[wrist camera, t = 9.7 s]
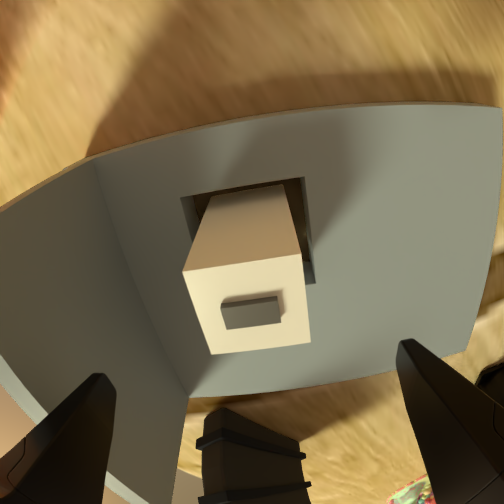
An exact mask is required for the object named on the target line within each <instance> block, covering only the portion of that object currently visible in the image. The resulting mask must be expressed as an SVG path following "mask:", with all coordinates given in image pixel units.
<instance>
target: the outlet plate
mask: <svg viewBox="0 0 504 504" xmlns="http://www.w3.org/2000/svg"><path fill="white" fill-rule="evenodd" d="M502 155H503V116H502V108H499V107H494V106H489V105H484V104H479V103H464V102H431V101H411V102H377V103H359V104H345V105H333V106H323V107H313V108H304V109H296V110H288V111H281V112H274V113H268V114H261V115H255V116H249V117H243V118H238V119H232V120H227V121H222V122H217V123H212V124H207V125H203V126H198V127H193V128H189V129H185V130H181V131H176V132H172V133H168V134H164V135H160V136H156V137H153V138H149V139H145V140H142V141H138V142H135V143H131V144H128V145H124V146H121V147H118V148H114V149H111V150H108V151H105V152H102V153H99V154H95V155H92V156H89V157H86V158H84V159H82V160H80V161H78V162H76V163H74V164H72V165H70V166H68V167H66V168H64V169H63V170H62V171H61V172H59V173H57V174H55V175H53V176H51V177H50V178H48V179H46V180H44V181H42V182H41V183H39V184H37V185H35V186H34V187H32V188H30V189H29V190H27V191H25V192H24V193H22V194H20V195H19V196H17V197H15V198H14V199H12V200H10V201H9V202H7V203H6V204H4V205H3V206H1V207H0V383H1V385H2V386H3V387H4V389H5V390H6V391H7V392H8V393H9V395H10V396H11V397H12V398H13V399H14V400H15V402H17V404H18V405H19V406H20V407H21V408H22V410H23V411H24V412H25V413H26V414H27V415H28V416H29V417H30V418H31V419H32V420H33V421H34V422H35V423H36V424H37V425H38V424H39V423H40V422H41V421H42V420H43V419H44V418H45V417H46V416H47V415H48V414H49V413H50V412H51V411H52V410H54V409H55V408H56V407H57V406H58V405H59V404H60V403H61V402H62V401H63V400H64V399H65V398H66V397H67V396H68V395H70V394H71V393H72V392H73V391H74V390H75V389H76V388H77V387H78V386H79V385H80V384H81V383H82V382H84V381H85V380H86V379H87V378H88V377H89V376H90V375H91V374H92V373H95V372H100V373H105V374H106V375H107V376H108V378H109V379H110V381H111V382H112V384H113V385H114V387H115V388H116V391H117V399H116V409H115V419H114V430H113V437H112V443H111V448H110V454H109V460H108V466H107V472H106V478H105V485H106V486H107V487H108V488H110V489H111V490H112V491H114V492H115V493H116V494H118V495H119V496H121V497H122V498H124V499H125V500H127V501H128V502H130V503H131V504H171V501H172V495H173V489H174V482H175V476H176V469H177V463H178V457H179V451H180V445H181V439H182V433H183V427H184V422H185V416H186V410H187V405H188V399H189V398H191V397H214V396H230V395H243V394H254V393H264V392H273V391H282V390H290V389H297V388H304V387H311V386H318V385H324V384H330V383H336V382H341V381H347V380H352V379H357V378H362V377H367V376H372V375H376V374H381V373H385V372H390V371H394V370H397V368H396V354H397V349H398V343H399V341H401V340H404V339H408V338H413V339H415V340H416V341H418V342H419V343H420V344H422V345H423V346H424V347H426V348H427V349H428V350H430V351H431V352H432V353H434V354H435V355H436V356H438V357H439V358H443V357H446V356H449V355H453V354H456V353H459V352H462V351H465V350H466V348H467V345H468V342H469V339H470V336H471V333H472V330H473V327H474V323H475V320H476V317H477V313H478V310H479V306H480V302H481V299H482V295H483V291H484V287H485V283H486V278H487V274H488V269H489V264H490V259H491V254H492V249H493V243H494V237H495V231H496V224H497V217H498V209H499V200H500V189H501V176H502ZM297 177H300V182H301V190H302V198H303V206H304V214H305V222H306V231H307V240H308V249H309V259H310V261H306V262H302V264H303V272H304V281H305V290H306V299H307V309H308V318H309V328H310V339H311V342H310V343H303V344H296V345H290V346H282V347H275V348H267V349H259V350H251V351H242V352H233V353H223V354H211V352H210V349H209V346H208V344H207V341H206V338H205V336H204V333H203V330H202V328H201V325H200V322H199V319H198V316H197V314H196V311H195V308H194V305H193V302H192V299H191V297H190V294H189V291H188V288H187V285H186V282H185V279H184V276H183V273H182V271H183V268H184V265H185V263H186V260H187V257H188V255H189V252H190V249H191V247H192V244H193V242H194V239H195V236H196V234H197V231H198V229H199V226H200V223H199V219H198V215H197V211H196V207H195V203H194V199H193V195H196V194H201V193H206V192H212V191H217V190H223V189H228V188H234V187H240V186H246V185H252V184H258V183H264V182H270V181H277V180H283V179H290V178H297Z"/></svg>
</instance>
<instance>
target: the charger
mask: <svg viewBox="0 0 504 504" xmlns="http://www.w3.org/2000/svg"><path fill="white" fill-rule="evenodd" d="M182 273H183V276H184V279H185V282H186V285H187V288H188V291H189V294H190V297H191V299H192V302H193V305H194V308H195V311H196V314H197V316H198V319H199V322H200V325H201V328H202V330H203V333H204V336H205V338H206V341H207V344H208V346H209V349H210V352H211V354H223V353H233V352H242V351H251V350H259V349H267V348H275V347H282V346H290V345H296V344H303V343H310V342H311V339H310V328H309V318H308V309H307V299H306V290H305V281H304V272H303V264H302V256H301V251H300V247H299V243H298V239H297V235H296V231H295V228H294V224H293V220H292V216H291V213H290V209H289V205H288V201H287V198H286V194H285V190H284V187H283V184H280V185H274V186H268V187H261V188H255V189H250V190H244V191H238V192H232V193H227V194H221V195H216V196H211V198H210V201H209V203H208V206H207V208H206V211H205V213H204V216H203V218H202V221H201V224H200V226H199V229H198V231H197V234H196V236H195V239H194V242H193V244H192V247H191V249H190V252H189V255H188V257H187V260H186V263H185V265H184V268H183V271H182Z"/></svg>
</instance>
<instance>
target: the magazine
mask: <svg viewBox="0 0 504 504" xmlns="http://www.w3.org/2000/svg"><path fill="white" fill-rule="evenodd" d="M196 449H198V450H201V451H202V480H203V488H204V496H201V497H198V502H199V504H311V502H310V499H309V496H308V492H307V489H306V488H308V487H310V486H312V485H311V482H310V481H308V482H305V481H304V476H303V471H302V465H301V460H303V459H305V458H306V453H302V452H300V446H299V443H298V442H297V441H294V440H292V439H290V438H287V437H285V436H283V435H280V434H278V433H276V432H274V431H271V430H269V429H267V428H265V427H263V426H260V425H258V424H256V423H254V422H252V421H250V420H248V419H246V418H244V417H242V416H240V415H238V414H236V413H234V412H232V411H230V410H228V409H226V408H222V409H220V410H218V411H216V412H214V413H213V414H211V415H209V416H207V417H206V418H205V419H204V429H203V436H202V437H200V438H198V439H197V440H196Z"/></svg>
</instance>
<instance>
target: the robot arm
mask: <svg viewBox="0 0 504 504" xmlns="http://www.w3.org/2000/svg"><path fill="white" fill-rule="evenodd" d="M396 368H397V372H398V376H399V380H400V384H401V389H402V393H403V397H404V402H405V406H406V410H407V413H408V416H409V419H410V422H411V425H412V428H413V431H414V433H415V436H416V439H417V442H418V445H419V449H420V452H421V455H422V458H423V461H424V464H425V468H426V471H427V474H428V478H429V481H430V484H431V488H432V491H433V495H434V499H435V502H436V504H504V363H503V364H500V365H498V366H496V367H493V368H491V369H488V370H486V371H483V372H482V373H481V374H480V375H479V377H478V379H477V382H476V384H475V385H474V384H473V383H471V382H470V381H469V380H467V379H466V378H465V377H464V376H462V375H461V374H460V373H458V372H457V371H456V370H454V369H453V368H452V367H451V366H449V365H448V364H447V363H445V362H444V361H443V360H441V359H440V358H439V357H438V356H436V355H435V354H434V353H432V352H431V351H430V350H428V349H427V348H426V347H424V346H423V345H422V344H420V343H419V342H418V341H416V340H415V339H413V338H408V339H404V340H401V341H399V343H398V349H397V354H396ZM116 399H117V391H116V388H115V387H114V385H113V384H112V382H111V381H110V379H109V378H108V376H107V375H106V374H105V373H100V372H95V373H92V374H91V375H90V376H89V377H88V378H87V379H86V380H85V381H84V382H82V383H81V384H80V385H79V386H78V387H77V388H76V389H75V390H74V391H73V392H72V393H71V394H70V395H68V396H67V397H66V398H65V399H64V400H63V401H62V402H61V403H60V404H59V405H58V406H57V407H56V408H55V409H54V410H52V411H51V412H50V413H49V414H48V415H47V416H46V417H45V418H44V419H43V420H42V421H41V422H40V423H39V424H38V425H37V426H36V427H34V428H33V429H32V430H31V431H30V432H29V433H28V434H27V435H26V437H24V438H23V439H22V440H21V441H20V442H19V443H18V444H17V445H15V446H14V447H13V448H12V449H11V450H10V451H9V452H8V453H6V454H5V455H4V456H3V457H2V458H0V504H102V499H103V491H104V485H105V478H106V472H107V466H108V460H109V454H110V448H111V443H112V437H113V430H114V419H115V409H116Z"/></svg>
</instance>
